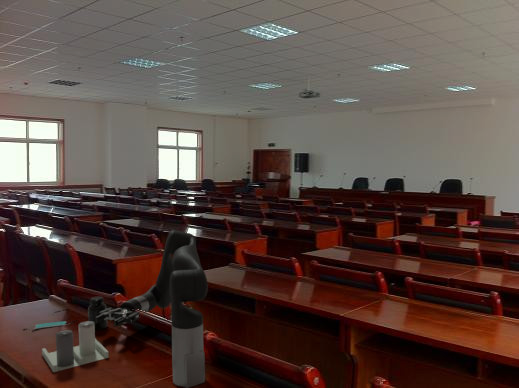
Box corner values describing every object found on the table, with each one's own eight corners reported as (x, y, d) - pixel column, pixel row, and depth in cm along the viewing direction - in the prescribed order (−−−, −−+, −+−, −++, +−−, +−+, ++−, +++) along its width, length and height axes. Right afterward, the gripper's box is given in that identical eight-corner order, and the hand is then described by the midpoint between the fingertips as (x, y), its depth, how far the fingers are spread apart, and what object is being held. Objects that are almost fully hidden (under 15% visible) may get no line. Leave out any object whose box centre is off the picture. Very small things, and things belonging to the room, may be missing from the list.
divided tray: (108, 360, 149) (108, 351, 149) (53, 375, 139) (53, 365, 139) (93, 344, 162) (93, 336, 162) (42, 357, 152) (41, 348, 152)
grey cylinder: (75, 364, 144) (74, 333, 144) (59, 368, 141) (57, 337, 141) (71, 358, 148) (70, 329, 148) (55, 362, 145) (54, 332, 145)
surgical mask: (71, 307, 192) (81, 312, 185) (71, 317, 192) (82, 322, 185) (19, 320, 177) (28, 326, 170) (19, 331, 177) (29, 337, 170)
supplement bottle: (101, 323, 183) (100, 294, 182) (110, 327, 179) (109, 297, 178) (85, 328, 178) (84, 298, 177) (94, 332, 174) (93, 301, 173)
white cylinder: (97, 353, 152) (96, 324, 152) (82, 357, 149) (80, 327, 149) (92, 348, 156) (91, 320, 156) (77, 352, 153) (76, 323, 153)
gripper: (119, 296, 178) (89, 309, 163) (149, 300, 172) (121, 314, 157) (120, 315, 178) (90, 329, 164) (150, 319, 173) (121, 335, 158)
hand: (105, 322), depth 161 cm, fingers open, 8 cm apart
